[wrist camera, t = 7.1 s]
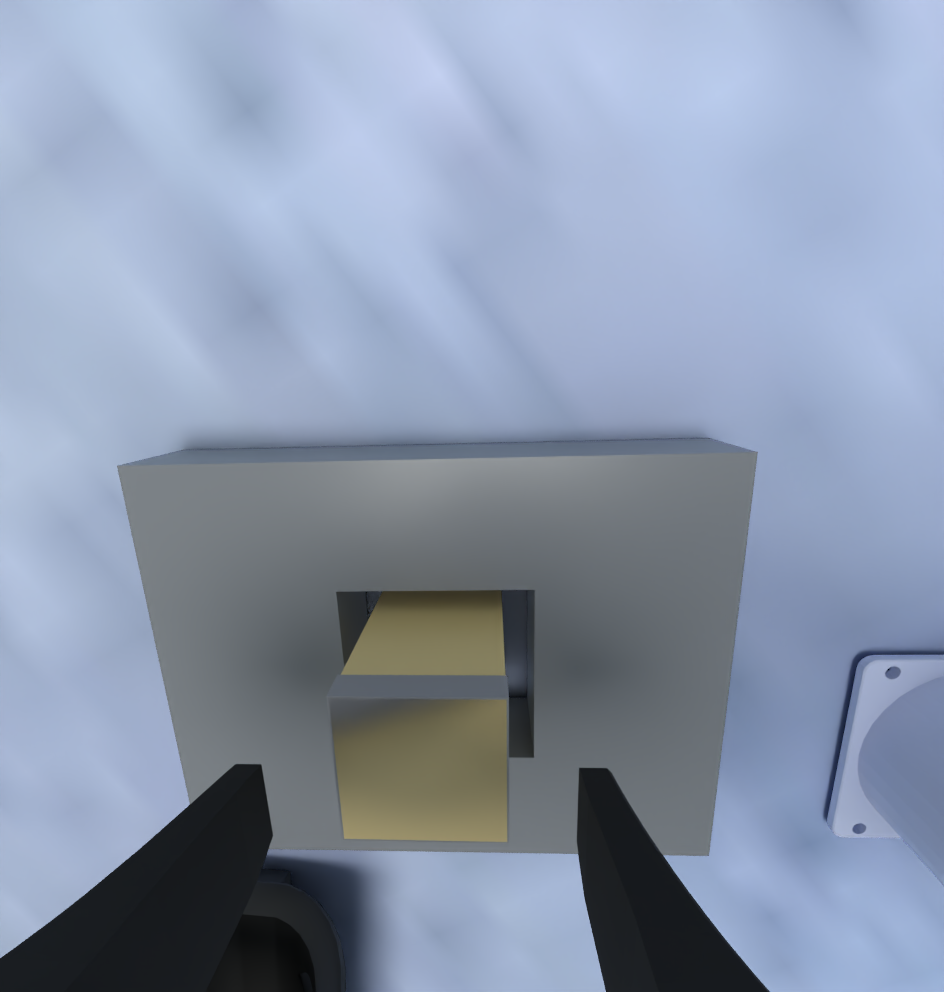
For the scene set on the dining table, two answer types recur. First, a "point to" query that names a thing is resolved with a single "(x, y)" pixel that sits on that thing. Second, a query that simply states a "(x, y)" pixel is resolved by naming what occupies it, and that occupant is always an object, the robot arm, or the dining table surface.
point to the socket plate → (454, 567)
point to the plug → (424, 721)
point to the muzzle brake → (281, 943)
